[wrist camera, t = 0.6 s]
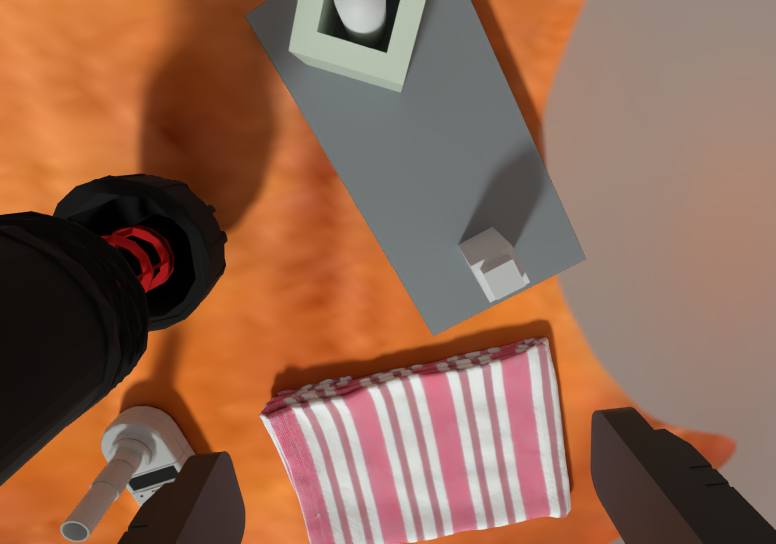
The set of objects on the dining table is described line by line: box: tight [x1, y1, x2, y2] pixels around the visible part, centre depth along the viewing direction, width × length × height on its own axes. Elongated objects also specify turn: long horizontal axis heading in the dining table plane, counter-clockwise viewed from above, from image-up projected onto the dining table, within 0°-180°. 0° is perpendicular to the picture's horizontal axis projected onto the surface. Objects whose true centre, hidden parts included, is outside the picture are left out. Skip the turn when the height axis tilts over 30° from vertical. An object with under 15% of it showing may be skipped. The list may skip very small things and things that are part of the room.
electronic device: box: [60, 406, 196, 542], centre depth 34 cm, size 5×10×15 cm
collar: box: [288, 0, 426, 93], centre depth 24 cm, size 6×6×5 cm
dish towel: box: [259, 337, 571, 544], centre depth 36 cm, size 17×23×4 cm
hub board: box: [245, 0, 586, 336], centre depth 26 cm, size 24×12×8 cm, turn 30°
